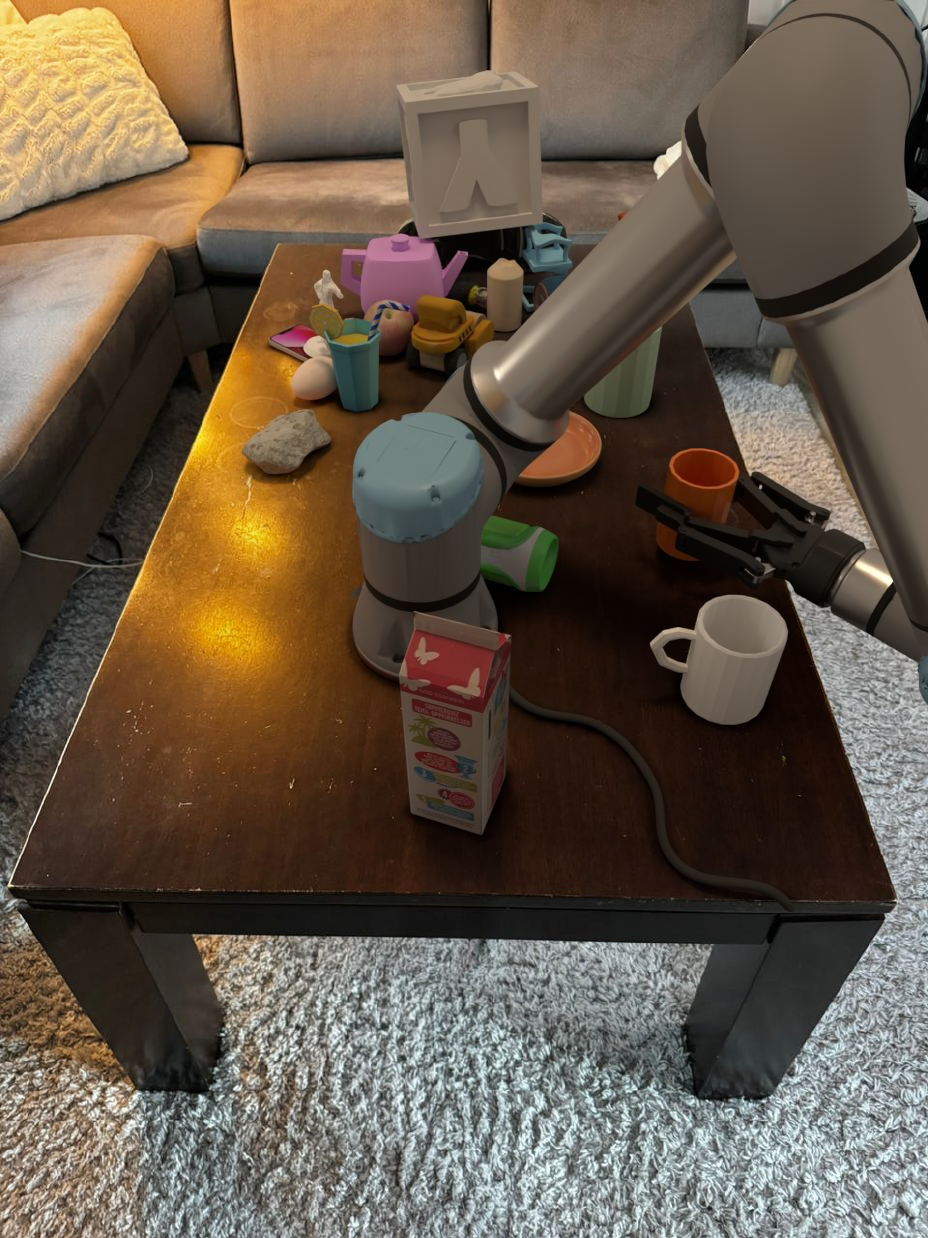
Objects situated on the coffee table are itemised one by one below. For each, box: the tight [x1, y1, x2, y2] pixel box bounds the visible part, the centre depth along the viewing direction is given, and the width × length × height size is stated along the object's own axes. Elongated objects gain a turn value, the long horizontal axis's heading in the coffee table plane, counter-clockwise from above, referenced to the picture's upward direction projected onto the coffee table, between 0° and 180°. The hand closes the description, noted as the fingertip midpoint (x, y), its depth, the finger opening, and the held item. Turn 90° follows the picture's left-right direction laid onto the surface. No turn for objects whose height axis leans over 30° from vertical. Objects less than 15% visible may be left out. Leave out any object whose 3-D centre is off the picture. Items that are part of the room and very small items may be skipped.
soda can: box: [532, 272, 571, 312], centre depth 142 cm, size 7×7×12 cm
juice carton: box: [398, 611, 513, 836], centre depth 73 cm, size 7×7×22 cm
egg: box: [290, 356, 338, 401], centre depth 127 cm, size 6×6×8 cm
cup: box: [307, 301, 410, 413], centre depth 122 cm, size 14×8×15 cm, turn 86°
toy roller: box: [405, 295, 495, 376], centre depth 132 cm, size 9×14×10 cm, turn 153°
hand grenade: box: [445, 276, 487, 310], centre depth 146 cm, size 4×4×10 cm
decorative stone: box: [241, 408, 332, 475], centre depth 117 cm, size 12×11×5 cm
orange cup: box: [655, 447, 740, 562], centre depth 99 cm, size 7×7×10 cm
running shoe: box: [397, 211, 568, 274], centre depth 156 cm, size 11×29×12 cm
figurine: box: [303, 269, 344, 359], centre depth 131 cm, size 7×7×12 cm
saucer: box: [513, 410, 603, 488], centre depth 116 cm, size 16×16×3 cm
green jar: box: [583, 325, 663, 419], centre depth 123 cm, size 9×9×12 cm
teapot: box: [339, 233, 468, 326], centre depth 141 cm, size 20×12×13 cm, turn 90°
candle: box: [486, 258, 524, 333], centre depth 140 cm, size 6×6×10 cm
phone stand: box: [522, 222, 574, 313], centre depth 145 cm, size 8×8×12 cm
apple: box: [363, 300, 415, 357], centre depth 135 cm, size 8×8×8 cm
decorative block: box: [395, 70, 544, 239], centre depth 140 cm, size 19×19×20 cm
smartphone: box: [268, 323, 319, 363], centre depth 137 cm, size 7×1×15 cm
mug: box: [649, 594, 789, 726], centre depth 86 cm, size 8×12×10 cm, turn 88°
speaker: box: [481, 514, 560, 593], centre depth 100 cm, size 18×7×8 cm
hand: (661, 478), depth 100 cm, fingers closed on orange cup, 7 cm apart
